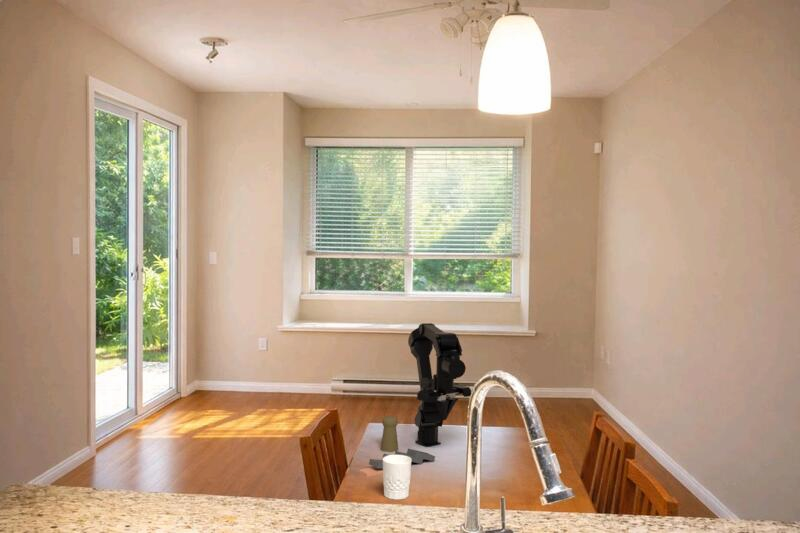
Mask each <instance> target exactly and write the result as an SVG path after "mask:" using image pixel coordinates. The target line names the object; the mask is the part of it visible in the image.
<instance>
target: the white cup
mask: <svg viewBox="0 0 800 533" xmlns="http://www.w3.org/2000/svg"><path fill="white" fill-rule="evenodd" d="M382 460H383V473H382V480H383V484H382V485H383V495H384V497H385V498H387V499H389V500H403V499H404V500H405V499H406V498H409V495H410V485H411V476H412V475H411V473H412V462H411V460H412V459H411V458H410V457H408V456H404V455H395V454H388V456H385V457H384V458H383V459H382Z"/></svg>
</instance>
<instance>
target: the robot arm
mask: <svg viewBox="0 0 800 533" xmlns="http://www.w3.org/2000/svg"><path fill="white" fill-rule="evenodd" d="M407 344H408V346H409V349H410V354H412V356H413V357H414V358H415V359H416V365H417V366H416V367H417V373H418V374H417V375H418V381H419V382H418V383H419V391H418V392H417V394H416V399H417V400H418V401H420V402H419V403H418V406H417V412H416V415H415V416H414V425H415V426H416V427H417V428H418V429H417V440H415V443H416V444H418V445H421V446H424V447H425V448H427V447H432V446H436V445H441V443H442V442H441V441H439V427H441V428H442V427H443V424H444V421H446V420H447V419H448V417H449V415H450V413H451V411H452V409H453V408H454V406H455V404H456V402H458V401H459V398H457V397H456V396H457V395H462V396H463V397H464V398H467V397H471V396H472V389H471V388H470V386H466V385H462V384H457V385H455V380H457V379H459V378H461V377H462V376H463V375H464V374H465V372H466V368H467V367H466V364H465V363H464V361H463V360H461V359H460V358H461V357H462V356H463V353H462V352H463V349H462V345H461V343H460V340H459V338H458V336H457V334H456V333H454V332H448V331H447V332H444V331H443V330H442V329H440V328H439V327H437V326H436V325H435V324H434V323H432V322H427V323H425V322H424V323H421V324H419V325H418V327H416V328H415V329H413V330H412V331H411V332H410V334H409V337H408V341H407ZM433 349H434V351H435V356H436V365H435V366H436V373H434V374H433V372H432V366H431V365H432V364H431V359H430V355H431V354H432V353H431V352H432V350H433ZM470 395H471V396H470Z"/></svg>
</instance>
